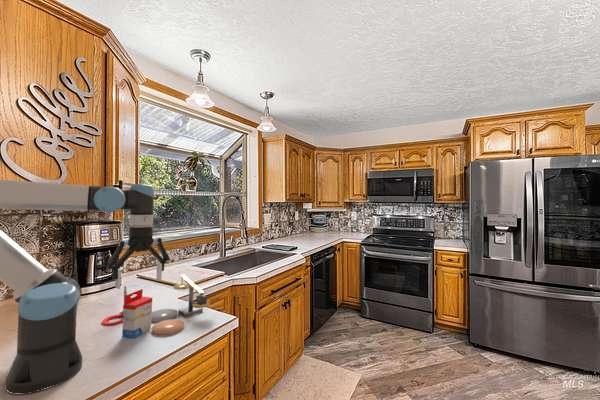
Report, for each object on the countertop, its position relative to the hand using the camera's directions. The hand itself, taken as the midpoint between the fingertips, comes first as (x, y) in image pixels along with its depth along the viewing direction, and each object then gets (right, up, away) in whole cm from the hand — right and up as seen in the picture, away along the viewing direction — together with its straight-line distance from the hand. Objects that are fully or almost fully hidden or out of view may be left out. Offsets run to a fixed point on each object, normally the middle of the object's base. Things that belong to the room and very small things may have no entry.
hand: (139, 283), depth 97 cm
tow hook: (-15, -18, +9) cm, 25 cm away
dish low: (+9, -18, +3) cm, 21 cm away
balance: (+11, -19, +18) cm, 28 cm away
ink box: (-1, -18, 0) cm, 18 cm away
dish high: (+2, -18, +13) cm, 23 cm away
